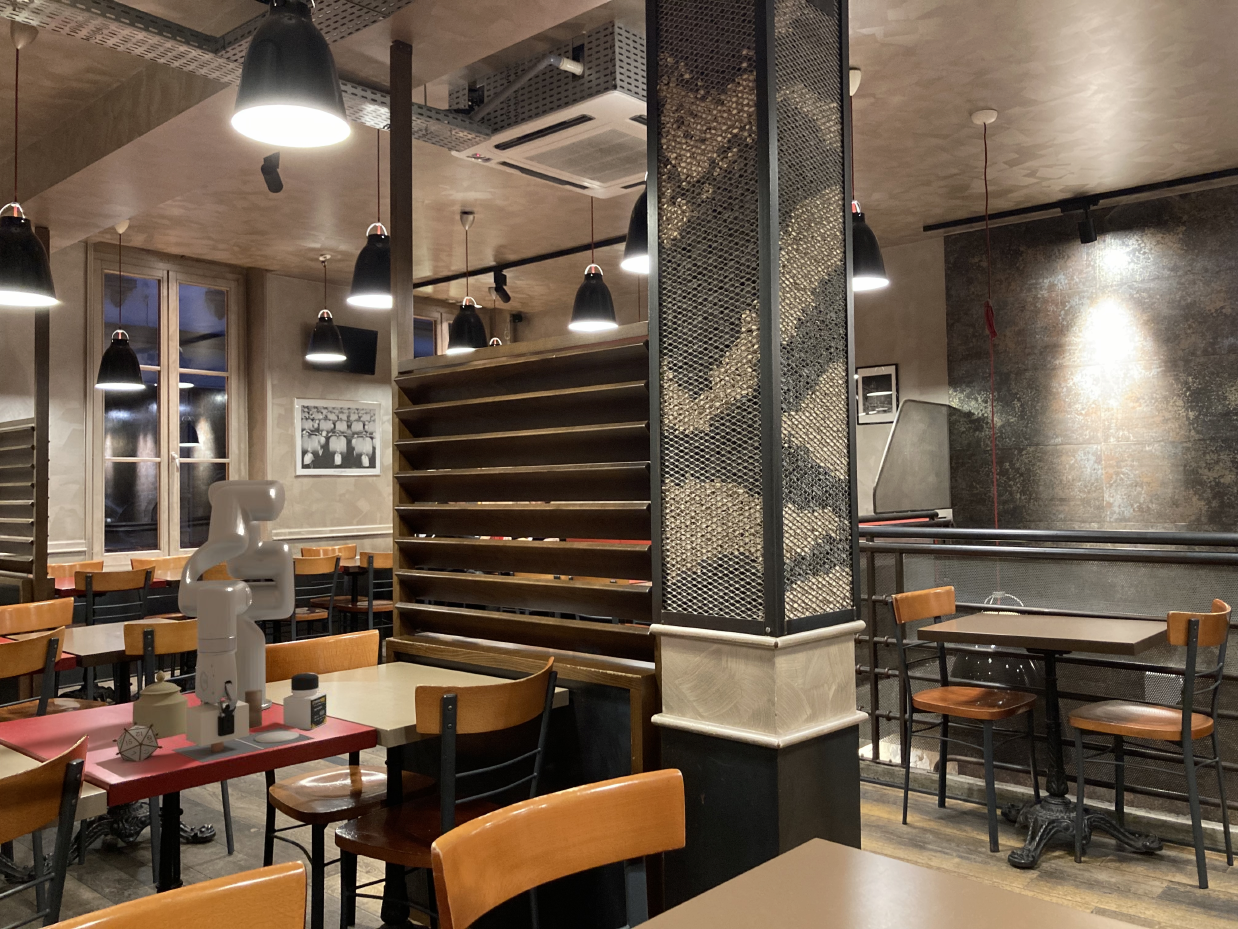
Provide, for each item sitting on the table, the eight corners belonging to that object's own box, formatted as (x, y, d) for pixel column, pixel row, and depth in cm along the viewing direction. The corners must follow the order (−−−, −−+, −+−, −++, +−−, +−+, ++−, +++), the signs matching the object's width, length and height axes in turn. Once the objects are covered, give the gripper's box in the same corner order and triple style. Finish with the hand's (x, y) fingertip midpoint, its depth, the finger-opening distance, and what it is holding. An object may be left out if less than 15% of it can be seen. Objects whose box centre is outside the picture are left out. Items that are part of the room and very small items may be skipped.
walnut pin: (242, 731, 216) (242, 691, 216) (257, 728, 219) (257, 689, 219) (249, 733, 213) (249, 693, 214) (264, 730, 216) (264, 691, 216)
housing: (186, 740, 194) (185, 707, 195) (233, 729, 202) (233, 698, 202) (200, 746, 190) (200, 713, 190) (249, 735, 197) (248, 704, 197)
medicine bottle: (311, 730, 216) (311, 677, 216) (282, 729, 217) (282, 676, 218) (327, 723, 223) (326, 671, 223) (299, 722, 224) (299, 671, 225)
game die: (131, 781, 191) (127, 735, 196) (172, 764, 192) (167, 719, 197) (105, 770, 183) (102, 723, 189) (148, 753, 184) (143, 706, 190)
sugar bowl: (111, 739, 211) (111, 671, 211) (157, 728, 220) (157, 663, 221) (152, 747, 203) (152, 676, 204) (198, 735, 213) (198, 668, 213)
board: (171, 755, 196) (171, 735, 196) (281, 733, 213) (280, 714, 214) (202, 768, 186) (202, 747, 186) (315, 744, 203) (314, 724, 203)
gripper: (181, 643, 199) (181, 727, 199) (217, 653, 187) (218, 743, 187) (216, 638, 205) (217, 720, 204) (254, 647, 193) (255, 735, 193)
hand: (217, 730), depth 196 cm, fingers closed on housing, 7 cm apart
